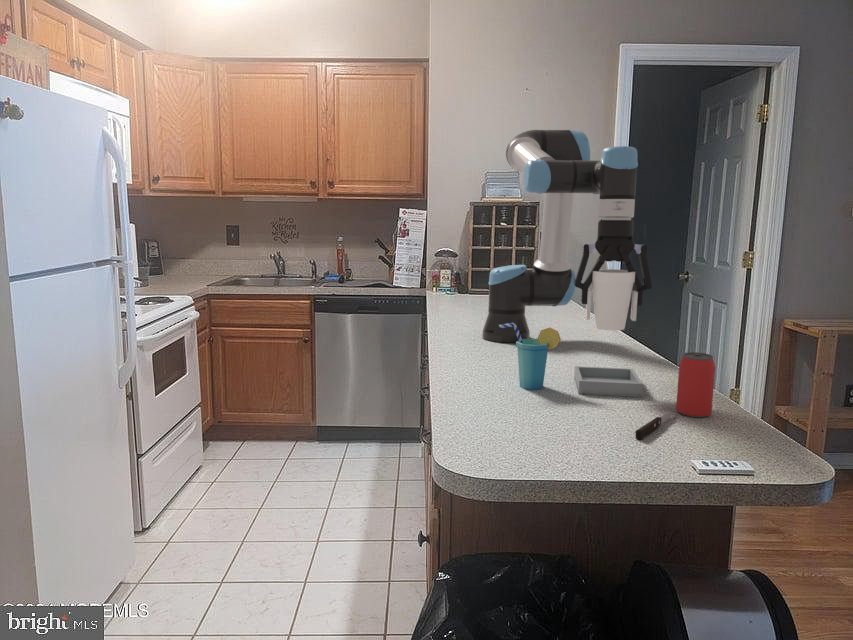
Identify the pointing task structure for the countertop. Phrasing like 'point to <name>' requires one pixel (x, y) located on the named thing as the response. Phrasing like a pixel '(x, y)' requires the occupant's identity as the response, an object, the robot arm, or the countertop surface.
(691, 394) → the beer can
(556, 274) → the robot arm
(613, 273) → the foam cup
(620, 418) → the countertop surface
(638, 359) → the countertop surface
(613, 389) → the tray
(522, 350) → the cup
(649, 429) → the kitchen knife
